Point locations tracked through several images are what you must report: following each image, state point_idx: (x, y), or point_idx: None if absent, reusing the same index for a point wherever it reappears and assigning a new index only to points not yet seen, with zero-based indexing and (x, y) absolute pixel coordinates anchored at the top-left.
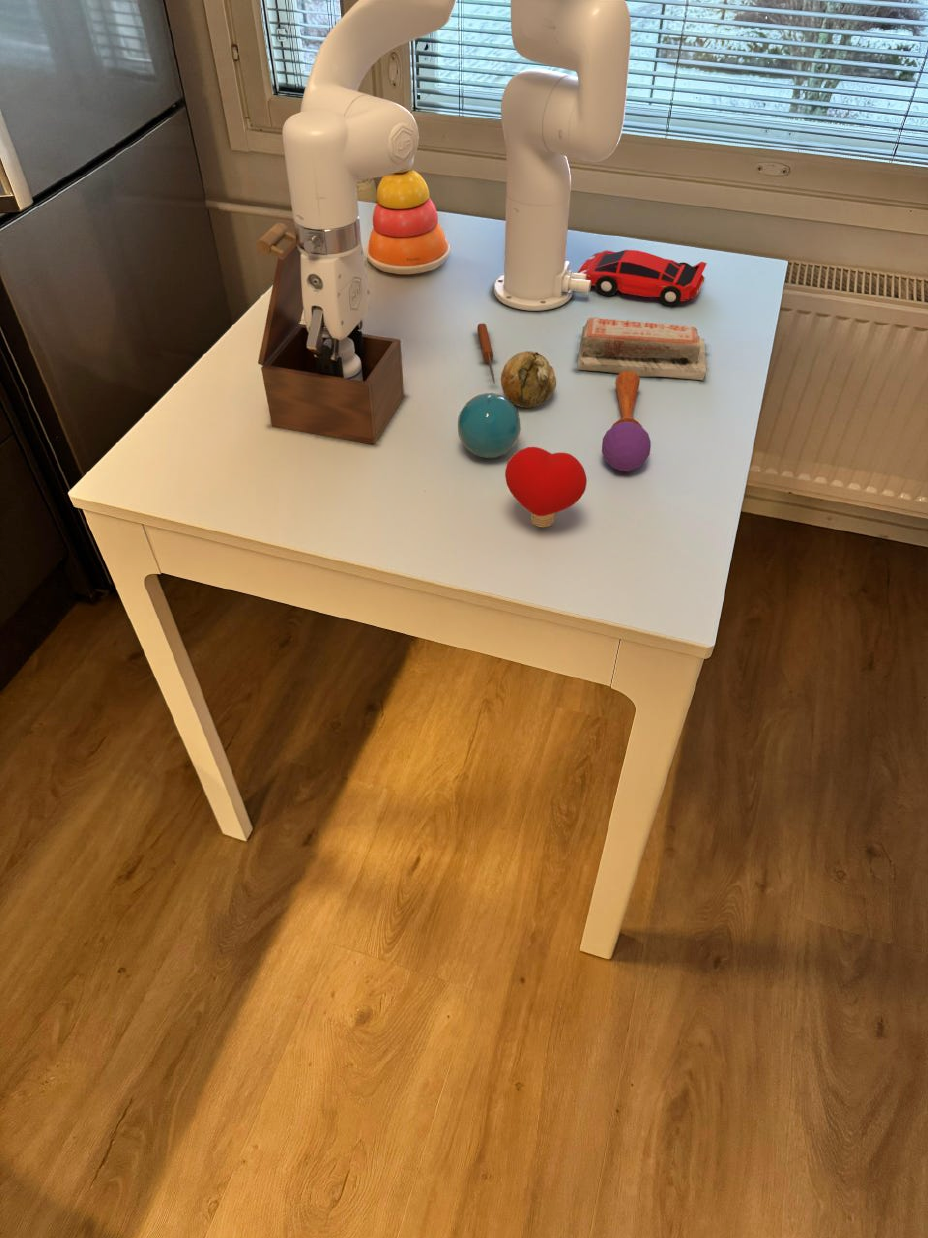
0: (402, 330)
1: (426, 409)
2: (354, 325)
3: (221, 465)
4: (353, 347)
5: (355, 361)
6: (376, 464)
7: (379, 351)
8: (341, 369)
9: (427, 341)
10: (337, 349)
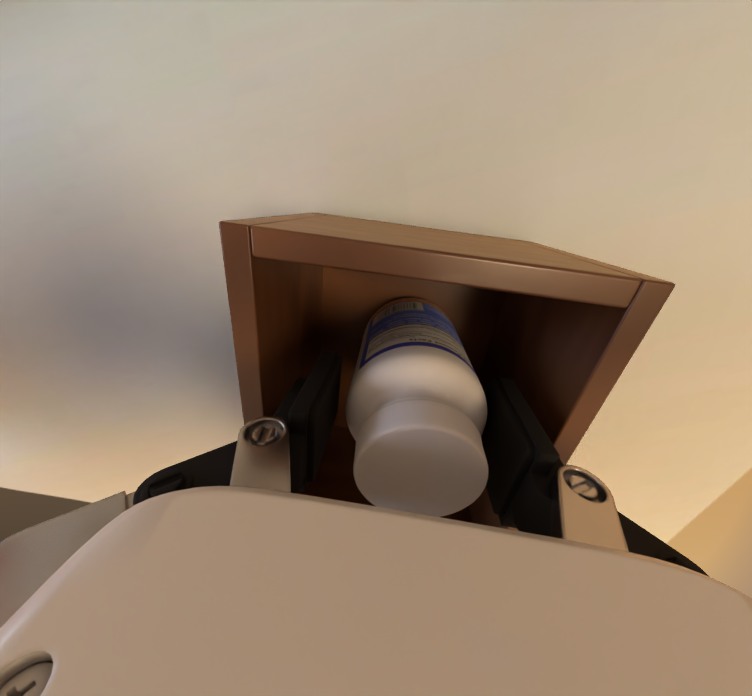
0: (53, 286)
1: (355, 126)
2: (531, 556)
3: None
4: (420, 416)
5: (426, 376)
6: (621, 214)
7: (280, 307)
8: (532, 417)
9: (53, 210)
10: (574, 504)
